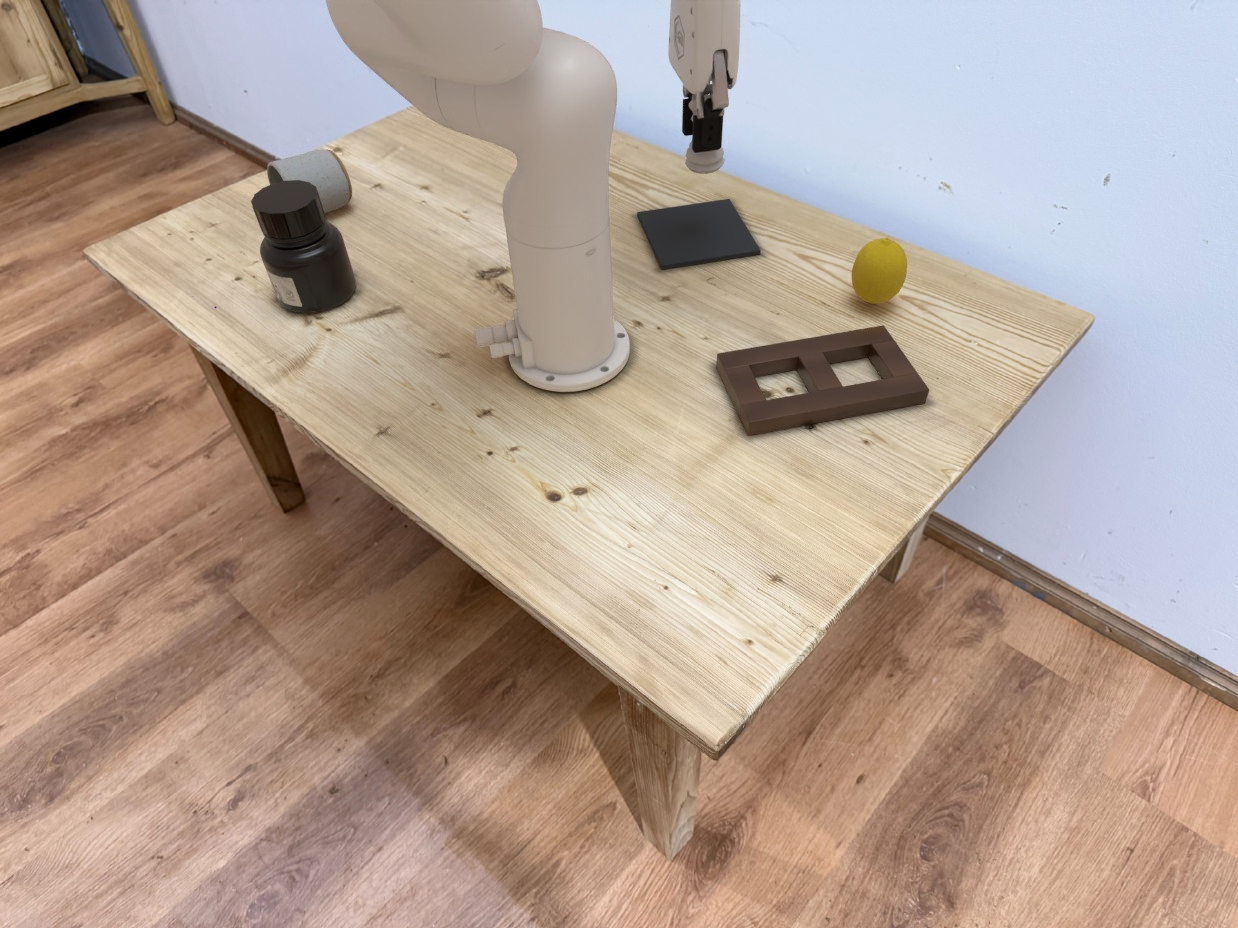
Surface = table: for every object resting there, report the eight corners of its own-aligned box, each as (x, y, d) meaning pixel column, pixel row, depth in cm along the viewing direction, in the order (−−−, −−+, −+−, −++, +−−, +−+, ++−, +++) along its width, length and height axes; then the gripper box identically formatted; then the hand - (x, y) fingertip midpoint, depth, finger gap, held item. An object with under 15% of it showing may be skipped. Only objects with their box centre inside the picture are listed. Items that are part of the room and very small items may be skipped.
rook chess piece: (679, 173, 96) (676, 103, 90) (692, 154, 98) (690, 85, 92) (718, 177, 94) (717, 106, 88) (729, 157, 97) (729, 87, 91)
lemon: (898, 321, 90) (915, 256, 85) (845, 315, 91) (858, 251, 85) (897, 290, 94) (913, 226, 88) (846, 285, 95) (859, 222, 89)
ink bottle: (276, 276, 99) (240, 181, 91) (352, 261, 101) (324, 167, 92) (280, 324, 93) (241, 228, 84) (361, 308, 95) (331, 211, 86)
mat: (661, 270, 98) (661, 265, 98) (637, 216, 106) (637, 212, 106) (760, 254, 100) (760, 250, 99) (729, 202, 108) (729, 198, 107)
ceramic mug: (362, 210, 109) (346, 153, 103) (304, 234, 105) (283, 176, 100) (323, 181, 114) (306, 126, 109) (267, 203, 111) (246, 147, 105)
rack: (925, 403, 82) (929, 389, 80) (747, 436, 79) (749, 422, 78) (880, 338, 88) (883, 324, 87) (715, 366, 86) (716, 353, 85)
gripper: (649, -65, 86) (650, 113, 99) (695, -9, 75) (689, 183, 88) (721, -72, 87) (712, 105, 100) (776, -18, 76) (757, 173, 89)
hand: (701, 140), depth 94 cm, fingers closed on rook chess piece, 3 cm apart
